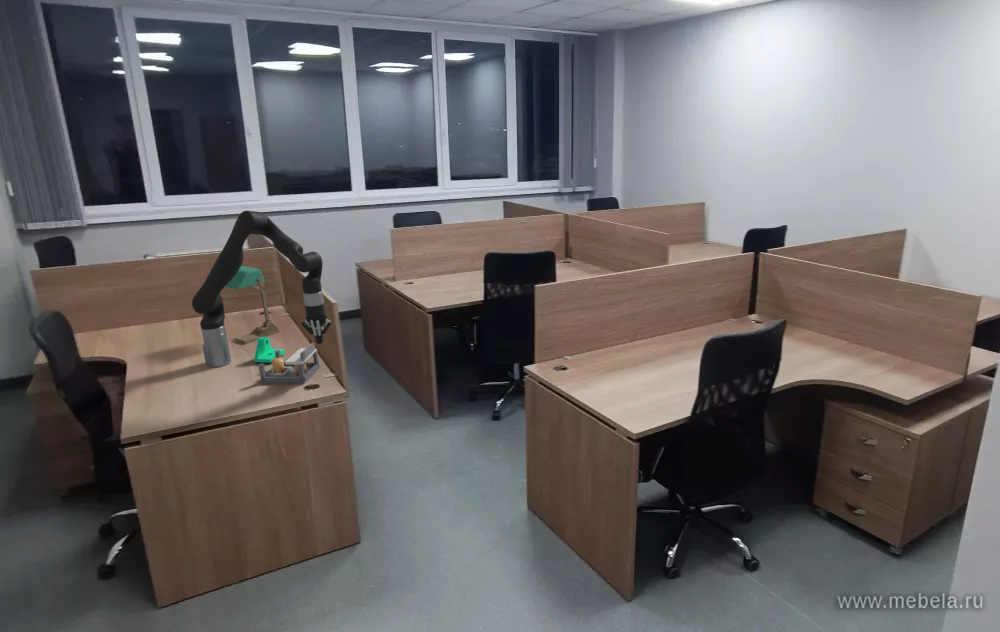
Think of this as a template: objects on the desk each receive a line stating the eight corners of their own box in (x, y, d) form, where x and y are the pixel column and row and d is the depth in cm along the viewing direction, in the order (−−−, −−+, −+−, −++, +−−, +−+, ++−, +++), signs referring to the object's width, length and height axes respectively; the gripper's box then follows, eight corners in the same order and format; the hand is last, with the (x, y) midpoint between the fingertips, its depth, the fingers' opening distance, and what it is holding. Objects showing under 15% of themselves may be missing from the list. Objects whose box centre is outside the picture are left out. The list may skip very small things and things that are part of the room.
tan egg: (271, 375, 240) (269, 361, 238) (276, 370, 244) (274, 357, 242) (282, 375, 240) (280, 361, 238) (286, 370, 244) (284, 357, 242)
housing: (261, 383, 235) (258, 365, 233) (279, 367, 250) (276, 350, 248) (304, 383, 233) (301, 365, 231) (319, 367, 249) (317, 350, 246)
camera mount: (271, 365, 253) (267, 343, 250) (255, 364, 255) (251, 342, 252) (285, 354, 265) (282, 333, 261) (270, 354, 266) (267, 332, 263)
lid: (285, 364, 232) (283, 355, 231) (300, 350, 246) (299, 341, 245) (302, 364, 231) (300, 355, 230) (316, 350, 246) (315, 341, 244)
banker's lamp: (284, 333, 292) (273, 265, 281) (247, 346, 275) (235, 274, 264) (264, 328, 300) (253, 261, 289) (227, 340, 284) (214, 271, 273)
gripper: (333, 299, 234) (338, 340, 239) (301, 299, 235) (307, 340, 240) (326, 305, 226) (332, 346, 232) (294, 305, 228) (300, 346, 233)
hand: (319, 343), depth 236 cm, fingers closed
